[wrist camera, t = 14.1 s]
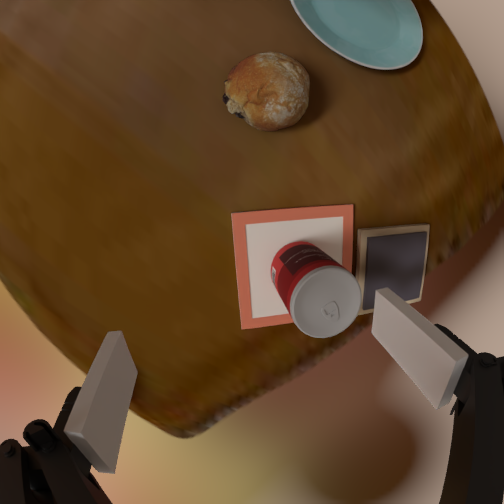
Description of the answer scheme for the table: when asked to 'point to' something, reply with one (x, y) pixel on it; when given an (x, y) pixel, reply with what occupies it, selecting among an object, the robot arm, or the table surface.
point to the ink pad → (391, 262)
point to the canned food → (315, 289)
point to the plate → (365, 29)
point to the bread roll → (268, 91)
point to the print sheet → (271, 241)
